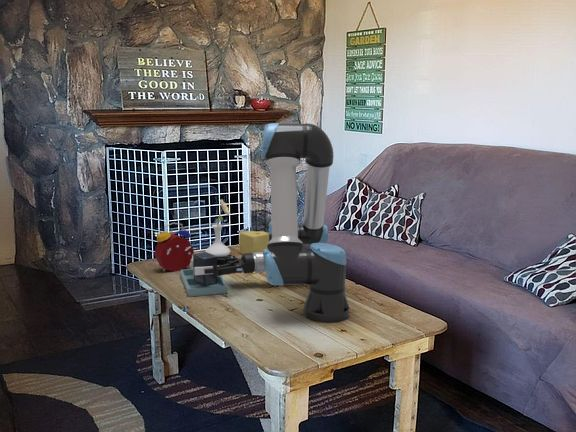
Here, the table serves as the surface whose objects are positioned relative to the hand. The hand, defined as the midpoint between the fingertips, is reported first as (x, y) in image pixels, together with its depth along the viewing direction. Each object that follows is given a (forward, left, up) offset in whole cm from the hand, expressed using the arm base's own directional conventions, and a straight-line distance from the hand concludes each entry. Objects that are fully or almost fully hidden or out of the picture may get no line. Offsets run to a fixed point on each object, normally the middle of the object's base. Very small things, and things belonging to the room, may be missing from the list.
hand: (192, 267), depth 212 cm
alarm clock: (+26, +3, -9) cm, 28 cm away
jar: (+13, -5, -8) cm, 16 cm away
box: (0, -5, -6) cm, 8 cm away
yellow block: (+43, -34, -9) cm, 55 cm away
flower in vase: (+45, -18, -9) cm, 49 cm away
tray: (+6, -5, -9) cm, 12 cm away
